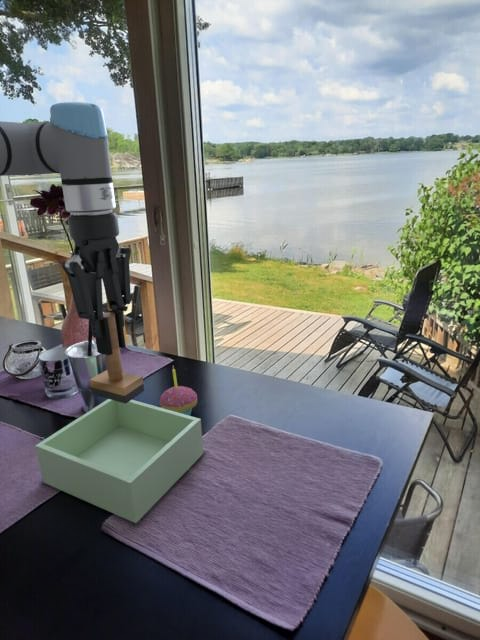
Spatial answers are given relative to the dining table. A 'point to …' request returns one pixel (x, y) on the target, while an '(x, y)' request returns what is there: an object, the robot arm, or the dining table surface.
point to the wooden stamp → (116, 373)
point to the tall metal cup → (86, 369)
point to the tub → (121, 455)
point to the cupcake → (178, 398)
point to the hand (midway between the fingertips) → (111, 349)
